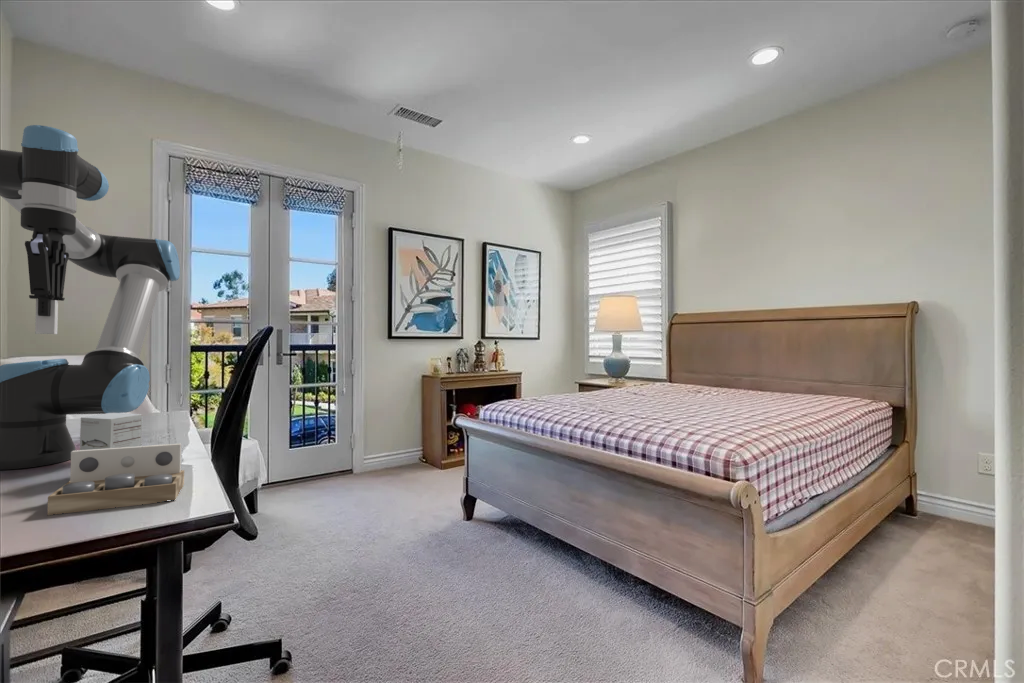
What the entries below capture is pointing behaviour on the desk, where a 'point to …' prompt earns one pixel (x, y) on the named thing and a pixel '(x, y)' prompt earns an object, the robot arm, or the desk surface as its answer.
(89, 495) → the button board
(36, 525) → the desk surface
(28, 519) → the desk surface
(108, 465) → the card
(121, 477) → the button
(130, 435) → the supplement box
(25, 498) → the desk surface
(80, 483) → the button
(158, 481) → the button
